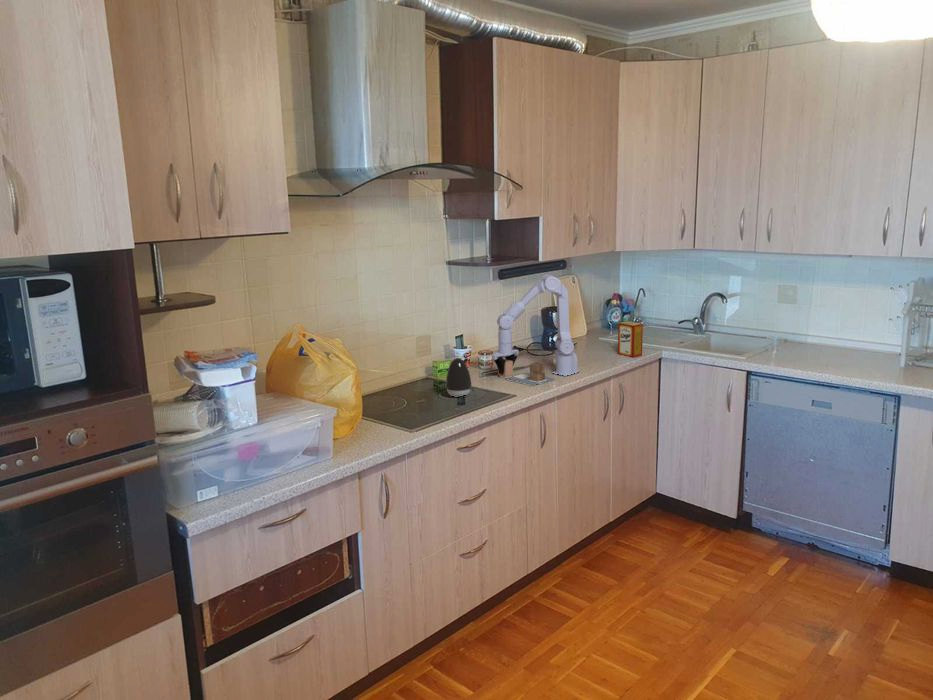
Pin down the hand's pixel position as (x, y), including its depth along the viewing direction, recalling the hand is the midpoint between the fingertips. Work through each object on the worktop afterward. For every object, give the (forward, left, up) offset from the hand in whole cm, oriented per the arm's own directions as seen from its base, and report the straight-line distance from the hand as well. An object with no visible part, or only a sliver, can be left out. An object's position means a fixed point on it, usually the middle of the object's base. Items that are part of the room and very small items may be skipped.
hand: (505, 372), depth 308 cm
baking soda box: (-70, +16, -2) cm, 72 cm away
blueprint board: (-3, +12, -2) cm, 12 cm away
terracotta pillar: (0, 0, -2) cm, 2 cm away
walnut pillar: (-3, +16, -1) cm, 16 cm away
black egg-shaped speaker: (+34, +8, -2) cm, 35 cm away
